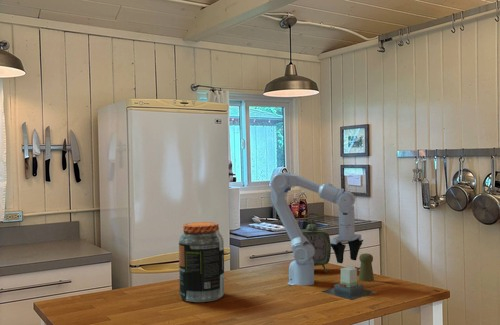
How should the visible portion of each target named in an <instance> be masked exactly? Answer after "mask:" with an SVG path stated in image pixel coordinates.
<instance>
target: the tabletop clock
mask: <svg viewBox="0 0 500 325" xmlns="http://www.w3.org/2000/svg"><path fill="white" fill-rule="evenodd" d="M311 215H313V216H317V217H318V220H316V221H314V219H310V220H307V219H306V217H307V216H311ZM320 220H321V216H320V215H319V214H318V213H315V212H310V213H306V214H305V215H304V217H303V221H304V222H305V223H308V224H307V225H306V227H305V228H304V229H300V230H301V232H302V234H303V235H304V236H305V237H306V238H307V239H308V241H309V243H310V244H312V245H313V246H314V248H315V254H314V256H313V257H312V258H313V260H314V267H316V266H322V267H323V272H324V273H328V271H329V270H328V269H327V268H326V267H325V265H328V264H329V262H330V259H331V253H332V252H331V250H332V247H331V237H330V235H329V233H328V232H327V231H326V230H323V229H320V228H319V227H318V225H317V224H316V223H318V222H319V221H320Z"/></svg>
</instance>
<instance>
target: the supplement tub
mask: <svg viewBox="0 0 500 325" xmlns="http://www.w3.org/2000/svg"><path fill="white" fill-rule="evenodd" d="M182 231H183V233H182V235H181V236H180V237H179V239H178V240H179V241H178V253H179V254H178V263H179V265H178V266H179V267H178V268H179V269H178V270H179V296H180V298H182V299H183V300H184V301H186V302H193V303H205V302H207V303H208V302H213V301H214V302H215V301H217V300H219V299H221V298H222V297H223V296H224V295H225V255H224V254H225V249H224V247H225V246H224V245H225V244H224V243H225V242H224V238H223V235H222V234H221V233H220V227H219V223H218V222H212V221H202V222H201V221H200V222H199V221H198V222H197V221H195V222H187V223H184V224H183V228H182Z"/></svg>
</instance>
